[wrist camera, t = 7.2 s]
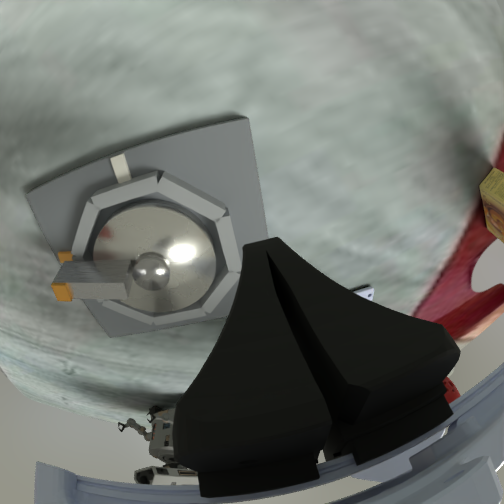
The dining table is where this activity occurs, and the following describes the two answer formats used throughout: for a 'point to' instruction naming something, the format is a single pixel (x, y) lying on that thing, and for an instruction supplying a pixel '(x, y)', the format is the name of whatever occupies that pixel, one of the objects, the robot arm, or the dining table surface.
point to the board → (166, 189)
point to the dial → (144, 260)
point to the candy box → (494, 202)
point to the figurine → (161, 452)
